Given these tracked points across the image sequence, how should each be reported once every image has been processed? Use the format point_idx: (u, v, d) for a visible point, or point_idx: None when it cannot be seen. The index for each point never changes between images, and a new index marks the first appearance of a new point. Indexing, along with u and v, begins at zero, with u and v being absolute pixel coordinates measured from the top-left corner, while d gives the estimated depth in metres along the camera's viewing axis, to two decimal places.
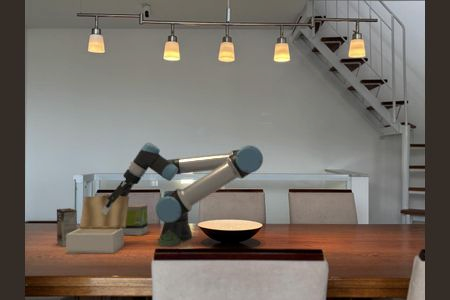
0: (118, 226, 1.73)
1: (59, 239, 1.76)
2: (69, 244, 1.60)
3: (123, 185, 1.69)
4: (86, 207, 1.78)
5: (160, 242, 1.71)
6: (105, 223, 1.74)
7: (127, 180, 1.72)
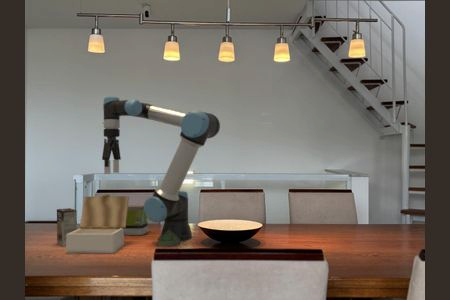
0: (118, 226, 1.73)
1: (59, 239, 1.76)
2: (69, 244, 1.60)
3: (107, 141, 1.80)
4: (86, 207, 1.78)
5: (160, 242, 1.71)
6: (105, 223, 1.74)
7: (108, 136, 1.83)
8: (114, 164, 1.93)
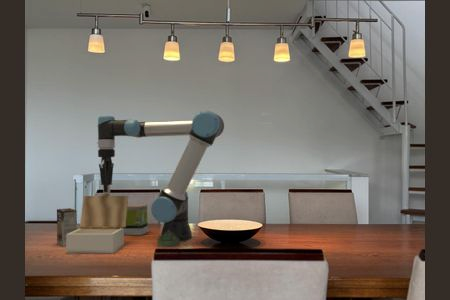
0: (118, 226, 1.73)
1: (59, 239, 1.76)
2: (69, 244, 1.60)
3: (102, 167, 1.75)
4: (85, 207, 1.77)
5: (159, 242, 1.71)
6: (105, 223, 1.74)
7: (103, 157, 1.77)
8: None
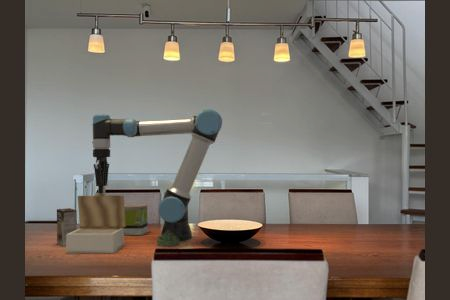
0: (118, 226, 1.73)
1: (59, 239, 1.76)
2: (69, 244, 1.60)
3: (97, 167, 1.69)
4: (82, 207, 1.73)
5: (159, 242, 1.71)
6: (104, 223, 1.73)
7: (98, 157, 1.71)
8: None
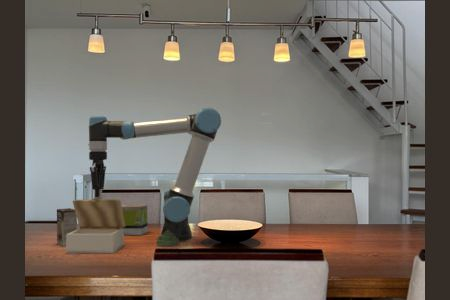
0: (118, 227, 1.73)
1: (59, 239, 1.76)
2: (69, 244, 1.60)
3: (93, 170, 1.64)
4: (78, 210, 1.70)
5: (159, 242, 1.71)
6: (103, 223, 1.73)
7: (94, 159, 1.67)
8: None
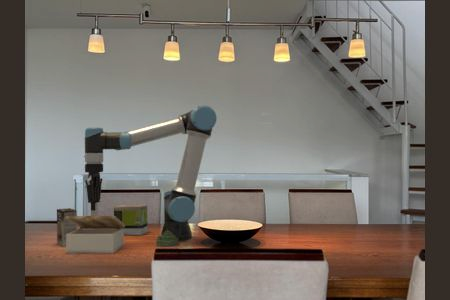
0: (118, 227, 1.73)
1: (59, 239, 1.76)
2: (69, 244, 1.60)
3: (89, 183, 1.60)
4: (74, 221, 1.66)
5: (159, 242, 1.71)
6: (103, 226, 1.72)
7: (90, 172, 1.62)
8: None
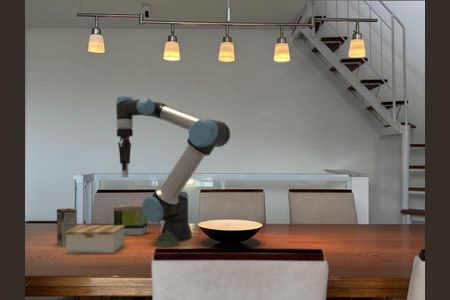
0: None
1: (59, 239, 1.76)
2: (69, 244, 1.60)
3: (121, 145, 1.80)
4: None
5: (158, 242, 1.70)
6: None
7: (122, 136, 1.82)
8: None
